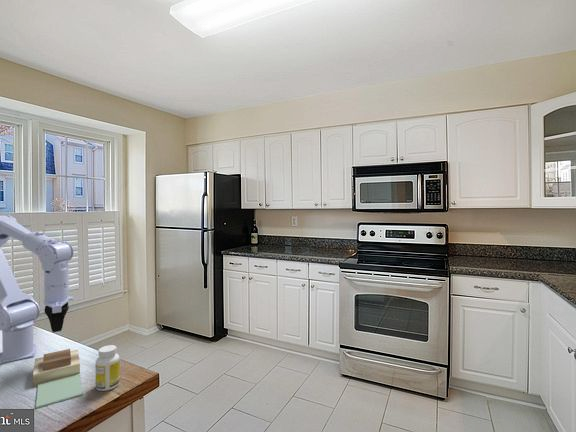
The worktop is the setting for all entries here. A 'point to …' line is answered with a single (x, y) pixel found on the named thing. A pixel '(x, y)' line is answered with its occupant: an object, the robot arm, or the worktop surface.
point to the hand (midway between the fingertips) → (56, 330)
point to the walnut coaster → (56, 359)
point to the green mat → (58, 390)
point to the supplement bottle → (107, 368)
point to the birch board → (55, 370)
